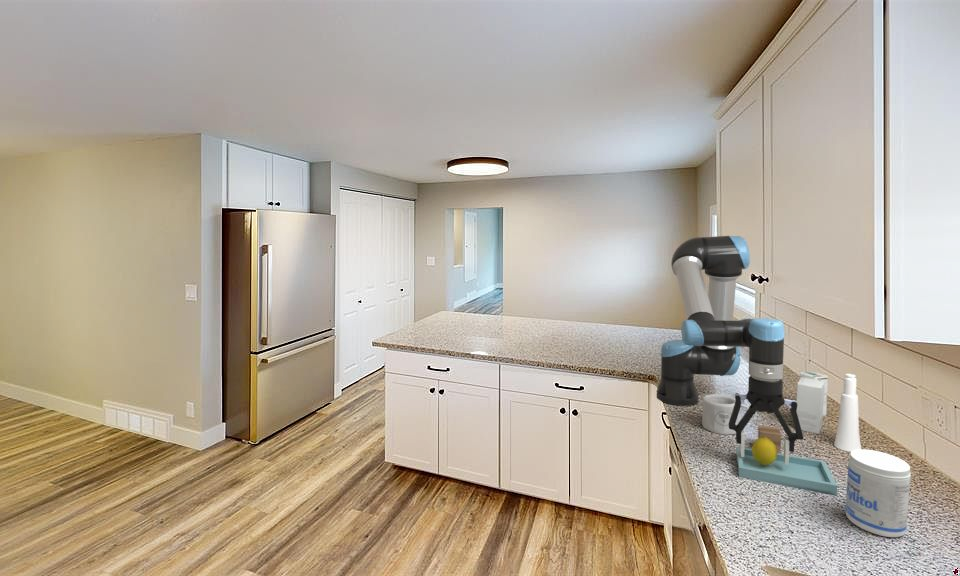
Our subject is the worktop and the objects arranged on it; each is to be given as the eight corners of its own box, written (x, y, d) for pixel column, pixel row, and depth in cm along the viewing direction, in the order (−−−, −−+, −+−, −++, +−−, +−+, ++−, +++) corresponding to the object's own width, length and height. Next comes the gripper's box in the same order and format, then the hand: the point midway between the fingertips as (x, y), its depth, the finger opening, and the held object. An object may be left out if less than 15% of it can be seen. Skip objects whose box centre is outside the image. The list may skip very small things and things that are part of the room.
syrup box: (797, 411, 149) (798, 372, 148) (811, 410, 150) (812, 370, 149) (812, 418, 144) (814, 376, 142) (827, 416, 145) (828, 375, 143)
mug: (705, 433, 136) (705, 403, 135) (699, 420, 146) (699, 392, 145) (753, 437, 131) (754, 407, 130) (743, 423, 141) (744, 395, 141)
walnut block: (758, 444, 127) (758, 425, 126) (778, 447, 125) (778, 428, 124) (759, 451, 123) (760, 431, 122) (780, 455, 120) (781, 435, 120)
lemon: (749, 465, 113) (752, 437, 112) (752, 458, 117) (755, 430, 116) (774, 473, 109) (777, 443, 108) (776, 465, 113) (779, 437, 113)
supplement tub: (835, 518, 92) (838, 454, 91) (859, 506, 96) (862, 444, 95) (893, 545, 83) (896, 475, 82) (916, 531, 87) (920, 463, 86)
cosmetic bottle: (865, 449, 121) (868, 375, 119) (855, 454, 118) (858, 379, 117) (840, 441, 127) (842, 370, 125) (830, 446, 124) (832, 373, 122)
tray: (736, 454, 121) (736, 446, 121) (824, 469, 111) (824, 460, 111) (738, 476, 110) (739, 467, 110) (836, 495, 100) (837, 485, 100)
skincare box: (799, 421, 142) (800, 376, 140) (824, 426, 137) (825, 380, 136) (794, 429, 136) (795, 382, 134) (820, 435, 131) (822, 386, 130)
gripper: (718, 376, 113) (717, 456, 115) (820, 386, 102) (818, 474, 104) (717, 369, 119) (717, 444, 121) (814, 377, 109) (811, 460, 111)
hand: (763, 458), depth 113 cm, fingers open, 9 cm apart
